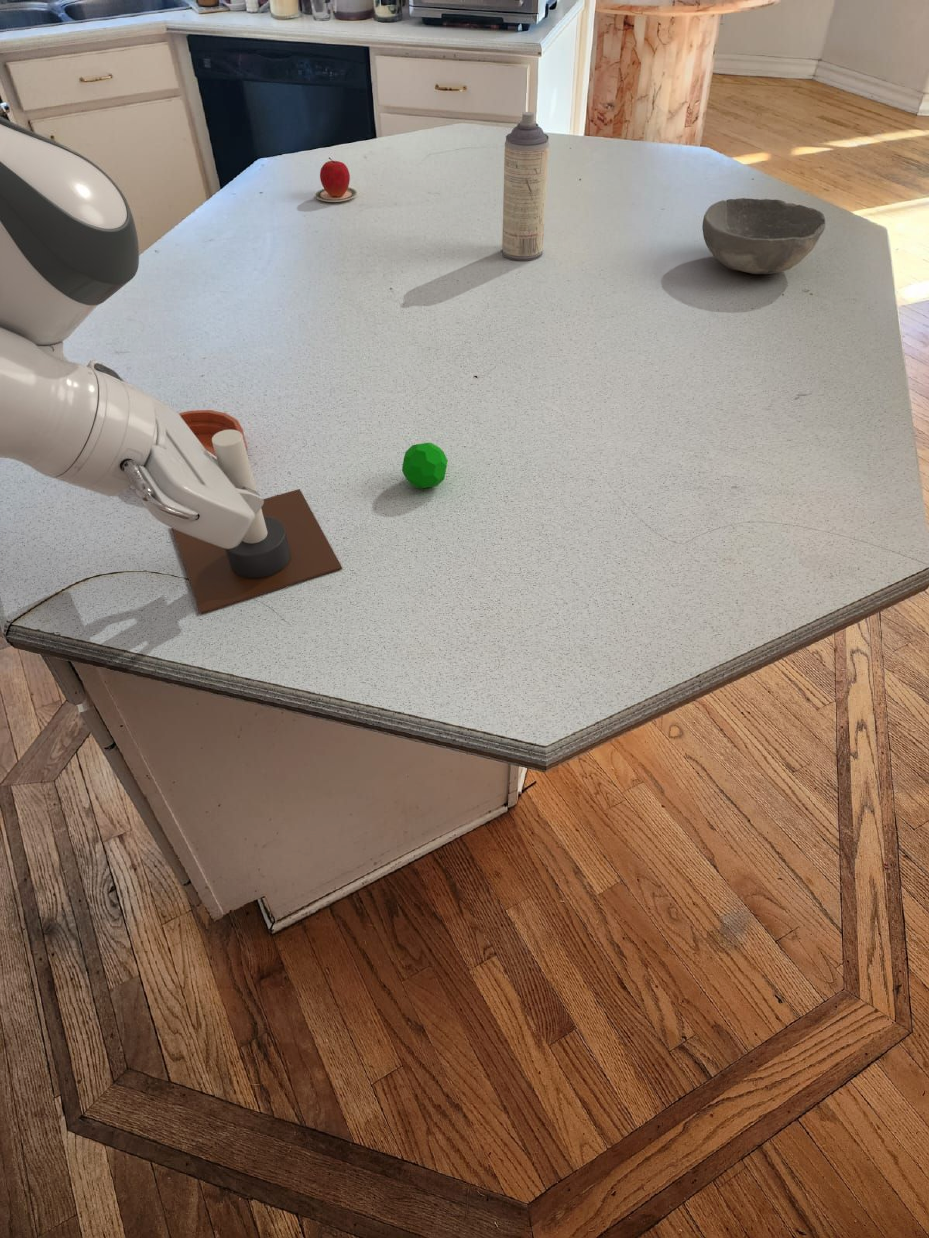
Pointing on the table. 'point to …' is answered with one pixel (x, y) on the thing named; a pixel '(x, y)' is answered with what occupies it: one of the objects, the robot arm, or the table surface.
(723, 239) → the bowl
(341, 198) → the apple
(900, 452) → the table surface
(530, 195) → the aerosol can
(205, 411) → the dish
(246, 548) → the brush
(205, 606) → the board
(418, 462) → the polyhedron
